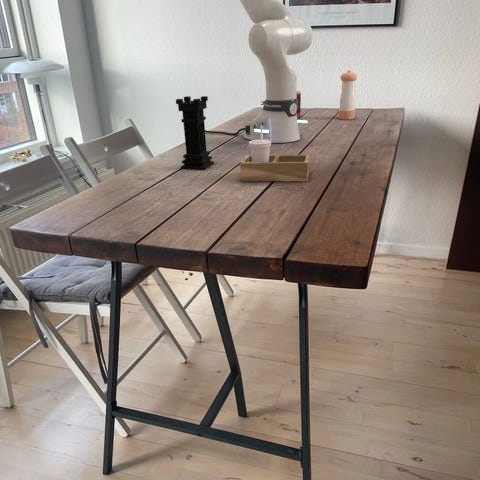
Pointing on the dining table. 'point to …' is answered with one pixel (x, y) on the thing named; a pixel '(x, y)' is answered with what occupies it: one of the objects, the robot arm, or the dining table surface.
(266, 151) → the smoothie
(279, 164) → the rack
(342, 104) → the salt shaker
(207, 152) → the chess piece
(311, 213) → the dining table surface
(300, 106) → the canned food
